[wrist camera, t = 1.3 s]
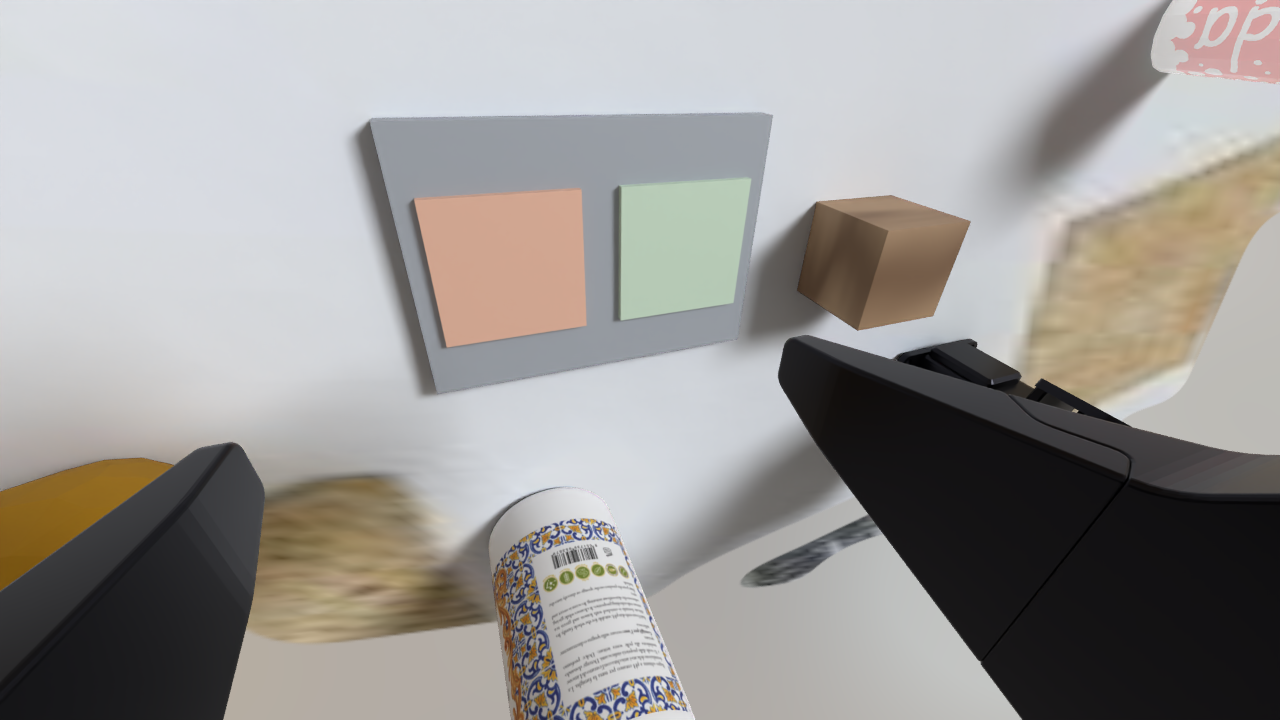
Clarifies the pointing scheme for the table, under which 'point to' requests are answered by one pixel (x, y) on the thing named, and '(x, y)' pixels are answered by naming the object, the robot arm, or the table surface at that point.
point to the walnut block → (879, 259)
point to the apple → (64, 508)
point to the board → (572, 235)
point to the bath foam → (576, 616)
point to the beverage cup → (1220, 39)
